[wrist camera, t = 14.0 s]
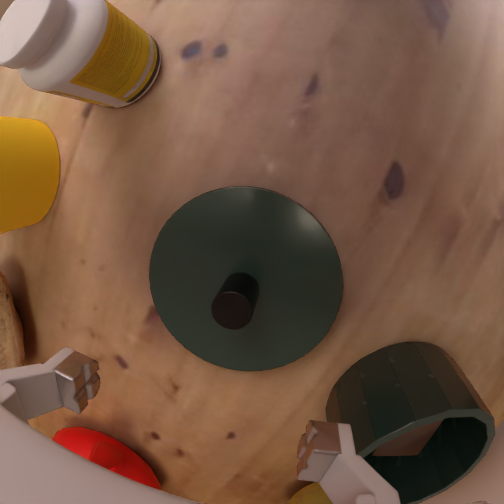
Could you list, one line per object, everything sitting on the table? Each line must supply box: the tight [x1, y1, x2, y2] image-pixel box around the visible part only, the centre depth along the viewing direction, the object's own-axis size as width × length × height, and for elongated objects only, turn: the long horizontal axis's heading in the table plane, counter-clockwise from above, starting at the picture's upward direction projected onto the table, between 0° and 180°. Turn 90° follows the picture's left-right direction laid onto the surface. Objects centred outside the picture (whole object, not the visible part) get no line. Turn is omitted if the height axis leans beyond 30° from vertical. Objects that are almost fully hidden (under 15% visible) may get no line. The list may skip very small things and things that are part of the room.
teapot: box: [52, 427, 161, 490], centre depth 24 cm, size 25×16×12 cm, turn 153°
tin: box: [326, 342, 495, 504], centre depth 18 cm, size 12×12×8 cm
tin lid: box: [149, 186, 343, 371], centre depth 19 cm, size 13×13×5 cm
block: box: [371, 419, 444, 456], centre depth 20 cm, size 4×4×4 cm
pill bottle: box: [0, 0, 161, 108], centre depth 13 cm, size 6×6×12 cm
